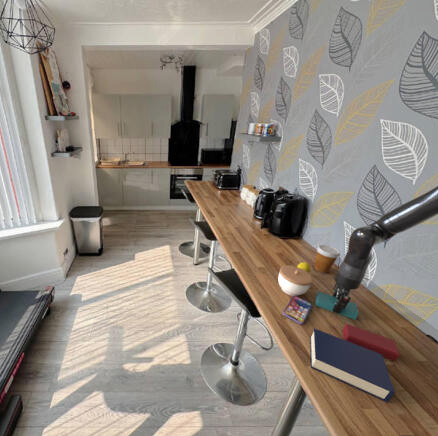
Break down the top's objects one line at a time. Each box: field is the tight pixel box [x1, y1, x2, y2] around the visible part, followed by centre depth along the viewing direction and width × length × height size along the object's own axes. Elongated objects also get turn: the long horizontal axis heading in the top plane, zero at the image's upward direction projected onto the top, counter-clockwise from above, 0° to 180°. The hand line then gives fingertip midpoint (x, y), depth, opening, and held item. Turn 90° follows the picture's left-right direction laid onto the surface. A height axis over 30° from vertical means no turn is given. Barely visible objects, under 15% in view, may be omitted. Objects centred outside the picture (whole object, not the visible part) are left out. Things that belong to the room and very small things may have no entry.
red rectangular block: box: [342, 323, 401, 362], centre depth 80 cm, size 13×6×4 cm, turn 59°
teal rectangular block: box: [315, 291, 360, 321], centre depth 96 cm, size 13×6×4 cm, turn 59°
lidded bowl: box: [277, 265, 314, 297], centre depth 103 cm, size 13×13×11 cm
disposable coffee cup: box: [313, 244, 341, 274], centre depth 119 cm, size 10×10×12 cm
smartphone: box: [282, 295, 313, 325], centre depth 95 cm, size 1×7×15 cm
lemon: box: [296, 261, 311, 274], centre depth 114 cm, size 6×6×8 cm
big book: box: [309, 327, 396, 403], centre depth 73 cm, size 18×13×4 cm
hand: (334, 306), depth 96 cm, fingers closed on teal rectangular block, 6 cm apart
